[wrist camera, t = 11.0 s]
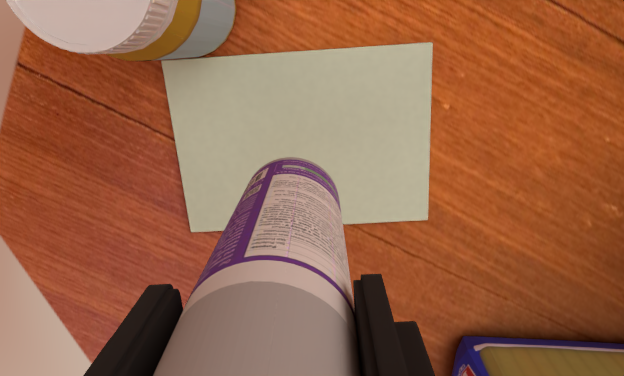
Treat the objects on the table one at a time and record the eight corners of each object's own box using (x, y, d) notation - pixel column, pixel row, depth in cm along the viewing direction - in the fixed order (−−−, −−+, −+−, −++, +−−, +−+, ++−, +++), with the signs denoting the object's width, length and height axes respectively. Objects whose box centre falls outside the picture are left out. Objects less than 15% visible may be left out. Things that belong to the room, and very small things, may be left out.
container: (267, 256, 22) (168, 663, 7) (229, 176, 20) (16, 485, 6) (352, 227, 21) (424, 608, 7) (319, 142, 20) (319, 396, 5)
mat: (192, 230, 36) (190, 232, 35) (162, 60, 31) (160, 60, 31) (426, 218, 35) (428, 220, 34) (431, 42, 30) (432, 42, 30)
